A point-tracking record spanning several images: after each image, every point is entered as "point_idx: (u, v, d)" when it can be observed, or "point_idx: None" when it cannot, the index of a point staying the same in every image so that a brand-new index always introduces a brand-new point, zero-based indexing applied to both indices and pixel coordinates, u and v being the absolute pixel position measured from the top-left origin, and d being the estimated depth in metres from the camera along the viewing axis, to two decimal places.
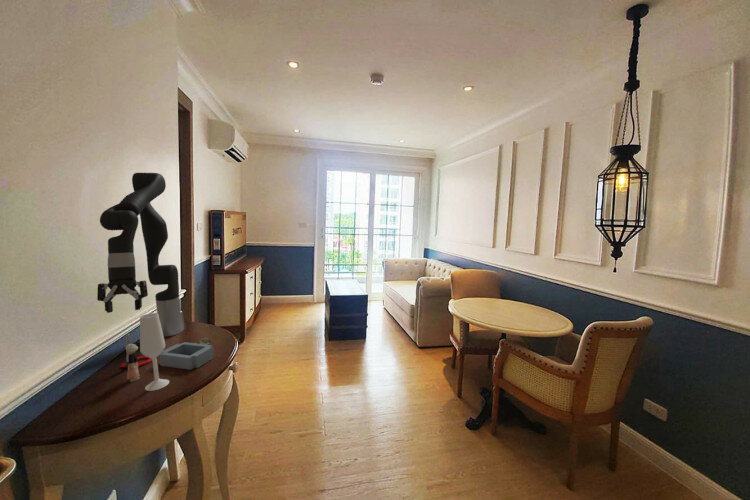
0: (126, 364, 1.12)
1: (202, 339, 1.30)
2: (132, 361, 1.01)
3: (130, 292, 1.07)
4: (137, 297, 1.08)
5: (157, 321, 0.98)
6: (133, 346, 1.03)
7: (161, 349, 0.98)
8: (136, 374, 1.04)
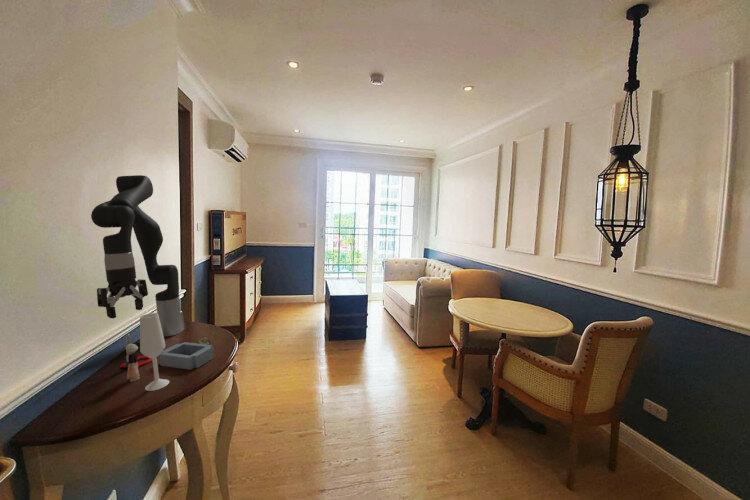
0: (126, 364, 1.12)
1: (201, 339, 1.30)
2: (132, 361, 1.01)
3: (137, 292, 1.03)
4: (142, 296, 1.06)
5: (157, 321, 0.98)
6: (133, 346, 1.03)
7: (161, 349, 0.98)
8: (136, 374, 1.04)
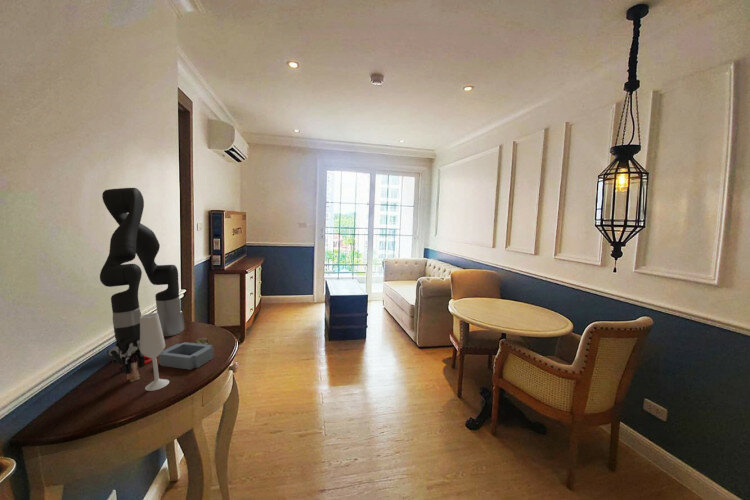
0: None
1: (200, 339, 1.30)
2: (132, 361, 1.01)
3: None
4: None
5: (157, 321, 0.98)
6: None
7: (161, 349, 0.98)
8: (136, 374, 1.04)
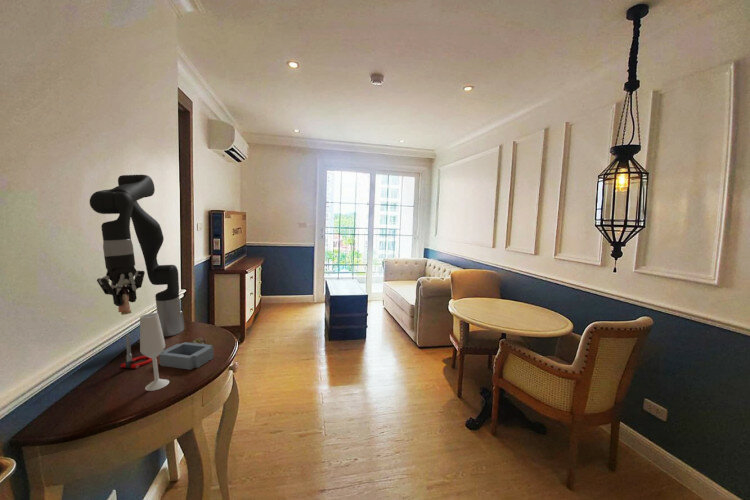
0: (126, 364, 1.12)
1: (196, 339, 1.29)
2: (124, 292, 0.99)
3: (133, 282, 1.02)
4: (135, 288, 1.03)
5: (157, 321, 0.98)
6: None
7: (161, 349, 0.98)
8: (128, 307, 1.01)
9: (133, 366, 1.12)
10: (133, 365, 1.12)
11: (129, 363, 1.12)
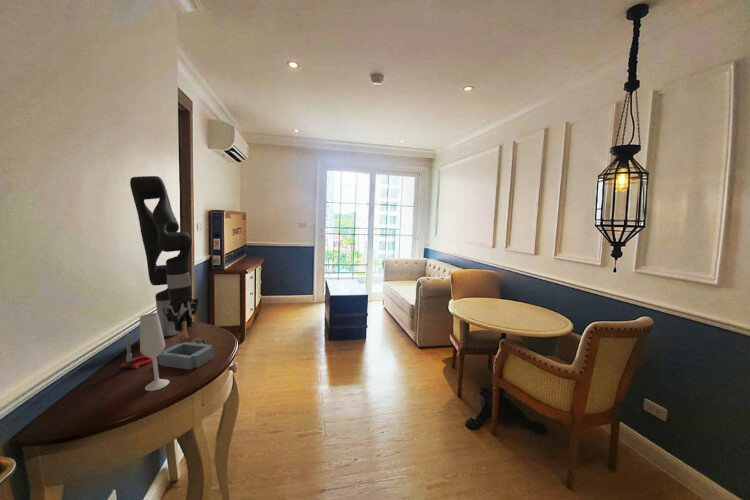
0: (126, 364, 1.12)
1: (195, 339, 1.29)
2: (184, 319, 1.13)
3: (190, 309, 1.16)
4: (191, 315, 1.17)
5: (157, 321, 0.98)
6: None
7: (161, 349, 0.98)
8: (186, 332, 1.15)
9: (133, 366, 1.12)
10: (133, 365, 1.12)
11: (129, 363, 1.12)
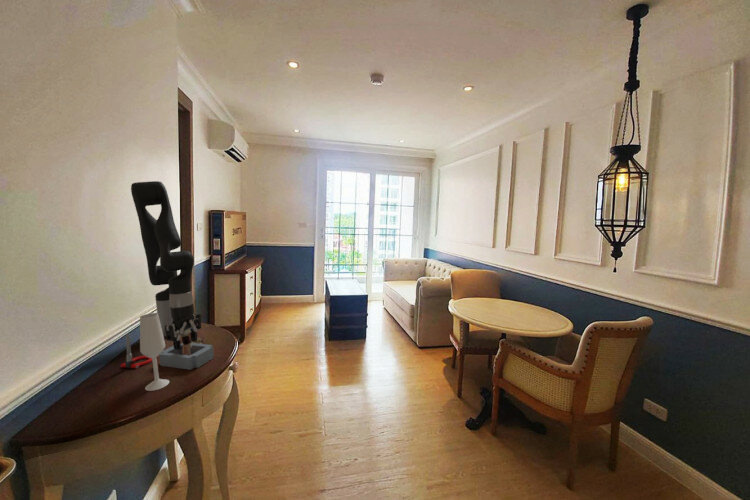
0: (126, 364, 1.12)
1: None
2: (189, 341, 1.15)
3: (194, 326, 1.18)
4: (196, 330, 1.20)
5: (157, 321, 0.98)
6: (187, 329, 1.16)
7: (161, 349, 0.98)
8: (190, 354, 1.17)
9: (133, 366, 1.12)
10: (133, 365, 1.12)
11: (129, 363, 1.12)
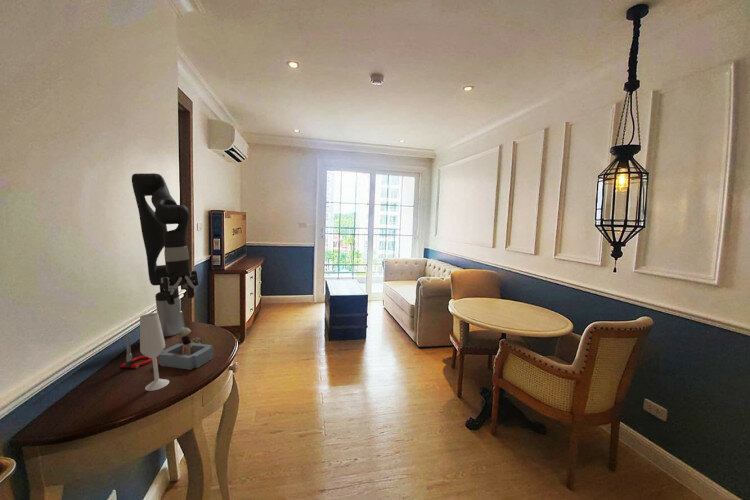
0: (126, 364, 1.12)
1: (193, 339, 1.30)
2: (189, 341, 1.15)
3: (190, 282, 1.16)
4: (193, 286, 1.18)
5: (157, 321, 0.98)
6: (187, 329, 1.16)
7: (161, 349, 0.98)
8: (190, 354, 1.17)
9: (133, 366, 1.12)
10: (133, 365, 1.12)
11: (129, 363, 1.12)
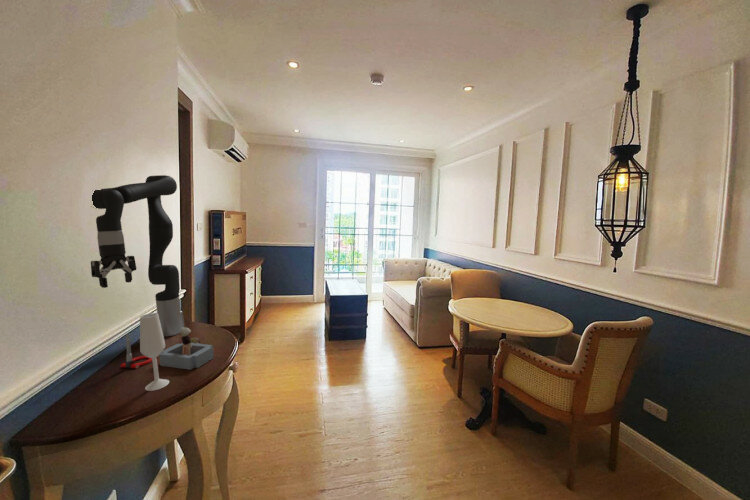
0: (126, 364, 1.12)
1: (191, 339, 1.30)
2: (189, 341, 1.15)
3: (126, 266, 1.18)
4: (131, 270, 1.20)
5: (157, 321, 0.98)
6: (187, 329, 1.16)
7: (161, 349, 0.98)
8: (190, 354, 1.17)
9: (133, 366, 1.12)
10: (133, 365, 1.12)
11: (129, 363, 1.12)
